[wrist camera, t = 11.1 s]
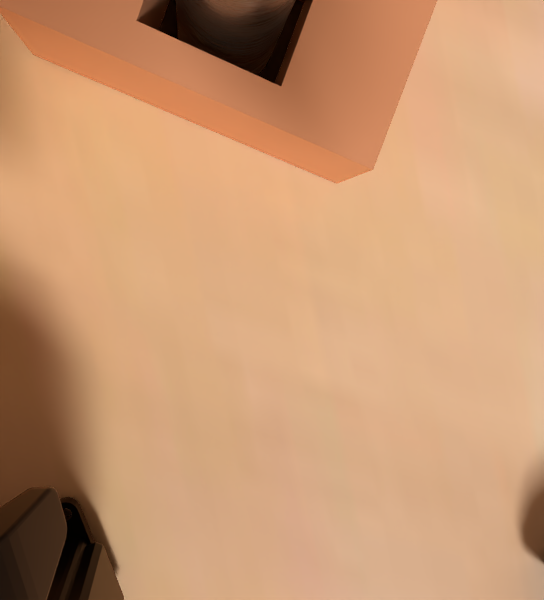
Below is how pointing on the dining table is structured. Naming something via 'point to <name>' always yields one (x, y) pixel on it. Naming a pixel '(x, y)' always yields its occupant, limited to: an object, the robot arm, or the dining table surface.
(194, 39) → the peg
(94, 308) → the dining table surface
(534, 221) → the dining table surface
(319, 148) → the socket block
